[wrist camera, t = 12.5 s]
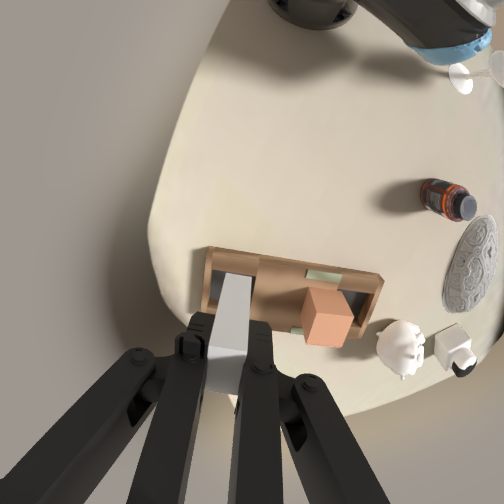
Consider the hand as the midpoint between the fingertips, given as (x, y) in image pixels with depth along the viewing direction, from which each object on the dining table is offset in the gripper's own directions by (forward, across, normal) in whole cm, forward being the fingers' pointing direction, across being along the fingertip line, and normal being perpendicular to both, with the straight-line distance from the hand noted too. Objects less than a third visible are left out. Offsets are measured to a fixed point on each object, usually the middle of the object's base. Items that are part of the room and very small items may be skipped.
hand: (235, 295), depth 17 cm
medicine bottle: (+31, +52, -23) cm, 65 cm away
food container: (+31, +50, -4) cm, 59 cm away
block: (+27, +15, -15) cm, 35 cm away
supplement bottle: (+31, +32, +8) cm, 45 cm away
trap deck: (+30, +10, -16) cm, 36 cm away
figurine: (+31, +34, -22) cm, 51 cm away
